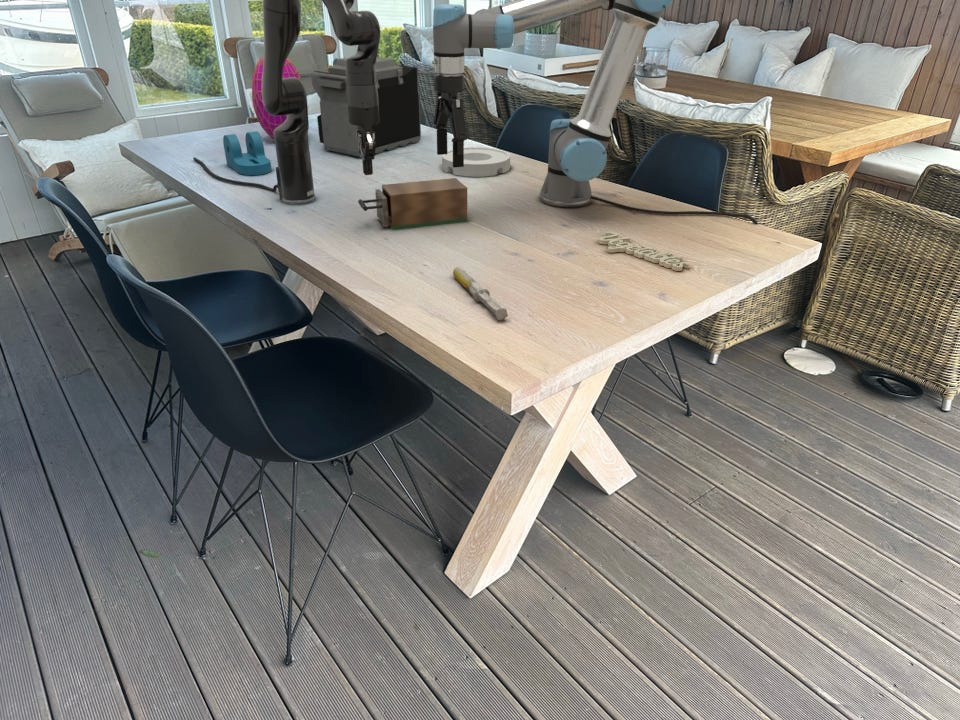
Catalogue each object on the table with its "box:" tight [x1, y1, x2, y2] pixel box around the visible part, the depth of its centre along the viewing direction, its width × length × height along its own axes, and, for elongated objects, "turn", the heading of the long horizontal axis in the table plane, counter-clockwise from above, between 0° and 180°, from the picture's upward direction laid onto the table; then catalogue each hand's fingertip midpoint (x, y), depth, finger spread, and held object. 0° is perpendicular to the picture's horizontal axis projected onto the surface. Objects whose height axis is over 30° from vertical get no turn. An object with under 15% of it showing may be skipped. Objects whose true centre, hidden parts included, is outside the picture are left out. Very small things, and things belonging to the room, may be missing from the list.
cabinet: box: [381, 177, 468, 231], centre depth 185 cm, size 21×10×9 cm, turn 110°
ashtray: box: [441, 146, 511, 178], centre depth 232 cm, size 23×23×4 cm
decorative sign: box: [598, 231, 690, 272], centre depth 167 cm, size 26×1×10 cm
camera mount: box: [222, 131, 272, 176], centre depth 226 cm, size 18×10×10 cm, turn 35°
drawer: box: [357, 188, 391, 227], centre depth 183 cm, size 25×8×7 cm, turn 110°
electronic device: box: [310, 57, 422, 158], centre depth 250 cm, size 37×22×30 cm, turn 144°
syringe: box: [452, 266, 509, 321], centre depth 145 cm, size 25×4×3 cm, turn 21°
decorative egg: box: [251, 56, 303, 140], centre depth 257 cm, size 19×19×30 cm
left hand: (368, 174), depth 176 cm, fingers closed
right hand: (450, 160), depth 181 cm, fingers open, 13 cm apart
